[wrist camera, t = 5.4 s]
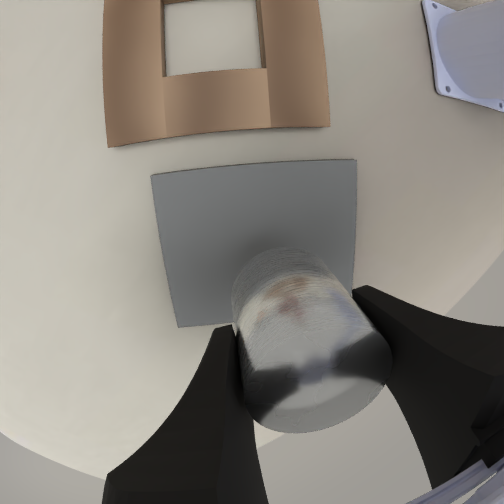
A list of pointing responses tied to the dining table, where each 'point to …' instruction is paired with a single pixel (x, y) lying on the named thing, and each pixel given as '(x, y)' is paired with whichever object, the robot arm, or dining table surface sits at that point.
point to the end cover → (303, 344)
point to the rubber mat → (249, 226)
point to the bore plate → (211, 76)
